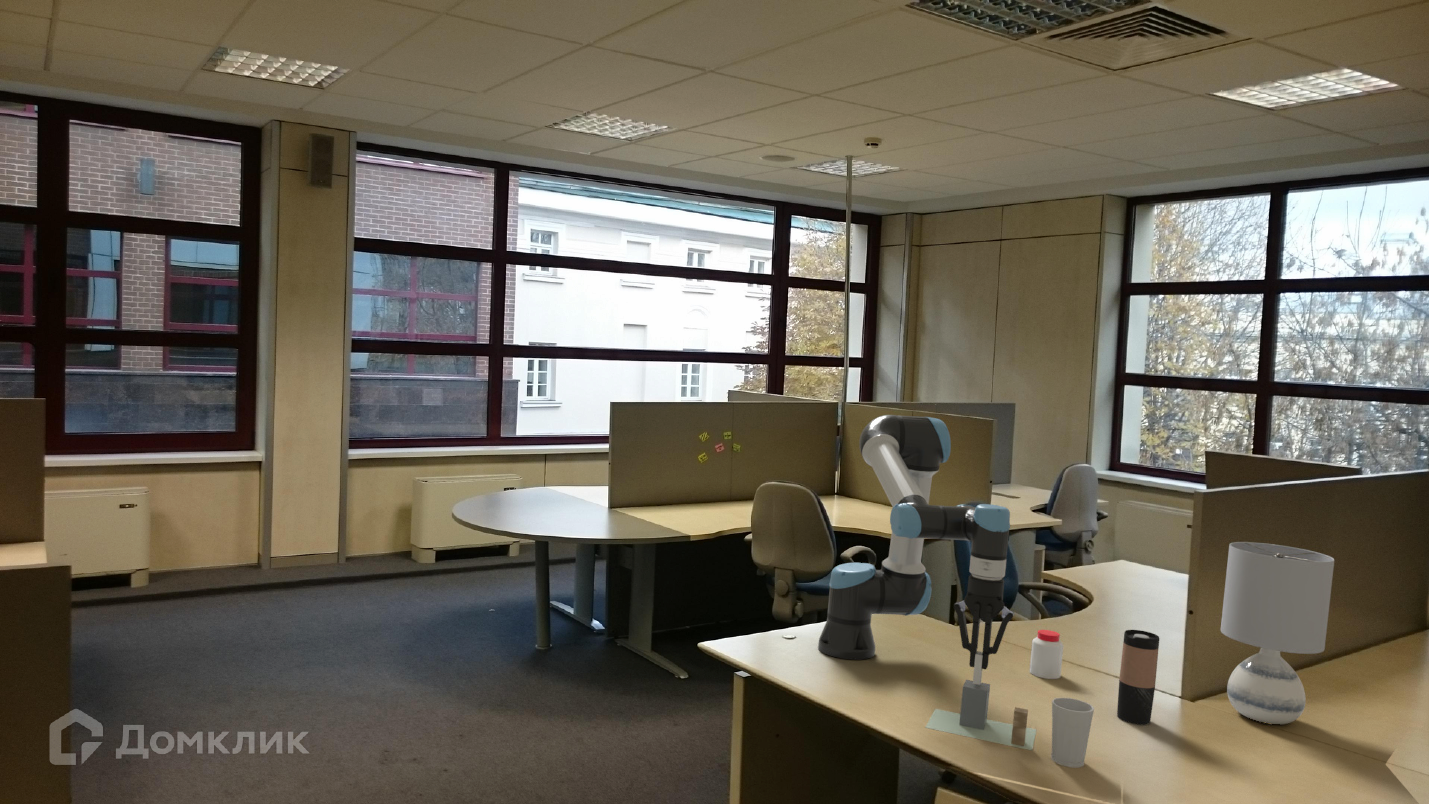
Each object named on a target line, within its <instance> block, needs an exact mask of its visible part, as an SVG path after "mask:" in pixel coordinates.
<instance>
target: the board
mask: <svg viewBox="0 0 1429 804" xmlns="http://www.w3.org/2000/svg"><path fill="white" fill-rule="evenodd" d="M959 723H960V713H959V712H954V711H953V712H952V711H948V710H944V709H939V708H935V709H934V711H933V713H932V714H931V716H930V718H929V720H928V722H927V724H926V725H925V727H924V728H925V729H930V730H934V731H939V732H942V733H943V732H944V733H949V734H953V735H957V736H962V737H967V738H972V739H976V740H981V741H985V742H991V743H994V744H995V743H996V744H1000V745H1005V746H1010V747H1014V748H1018V749H1022V750H1029V751H1033V749H1034V743H1035V739H1036V734H1037V728H1031V727H1026V737H1025V744H1024V746H1020V745H1015V744H1011V739H1012V728H1013V723H1006V722H1001V721H999V720H998V721H997V720H992V719H988V718H987V723H986V725H985V728H984V730H981V729H976V728H971V727H967V726H962V725H959Z"/></svg>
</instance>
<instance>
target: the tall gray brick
mask: <svg viewBox="0 0 1429 804" xmlns="http://www.w3.org/2000/svg"><path fill="white" fill-rule="evenodd" d="M961 690H962V693H961V702H960V711H959V712H960V713H959V714H960V723H959V725H962V726H967V727H971V728H976V729H981V730H984V728H985V725H986V723H987V719H988V711H989V701H990V700H989V699H990V691H991V684H990V683H985V682H981V683H980V685H978V684H973V680H969V679H965V682H964V684H963V685H962V689H961Z"/></svg>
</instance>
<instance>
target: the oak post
mask: <svg viewBox="0 0 1429 804" xmlns="http://www.w3.org/2000/svg"><path fill="white" fill-rule="evenodd" d="M1028 713H1029V709H1026V708H1020V707H1018V706H1015V707H1014V710H1013V718H1012V720H1013V721H1012V725H1013V728H1012V739H1011V744H1015V745H1020V746H1024V744H1025V737H1026V727H1027V725H1028V716H1029V715H1028ZM1027 728H1028V727H1027Z"/></svg>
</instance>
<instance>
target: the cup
mask: <svg viewBox="0 0 1429 804" xmlns="http://www.w3.org/2000/svg"><path fill="white" fill-rule="evenodd" d="M1051 704H1052V705H1051V721H1052V722H1051V723H1052V724H1051V725H1052V726H1051V757H1050V760H1052V761H1053V762H1054V763H1055V764H1058V765H1060V766H1063V767H1067V768H1082V767H1084V766H1085V758H1086V754H1087V748H1088V743H1089V738H1090V732H1091V726H1092V720H1093V716H1094V713H1095V712H1094V710H1095V707H1094V706H1093V705H1092V704H1091V703H1088V702H1087V701H1083V700H1080V699H1077V698H1071V697H1055V698H1053V699H1052V700H1051Z"/></svg>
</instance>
